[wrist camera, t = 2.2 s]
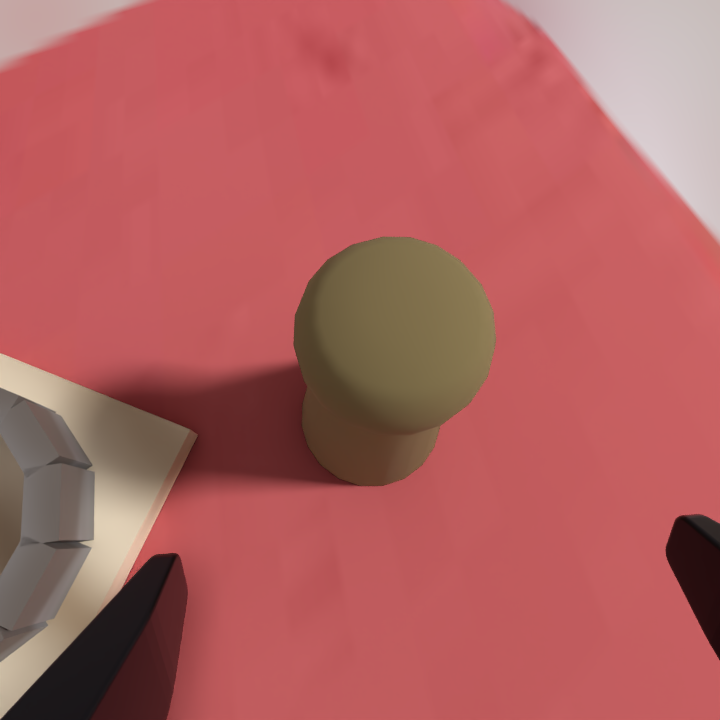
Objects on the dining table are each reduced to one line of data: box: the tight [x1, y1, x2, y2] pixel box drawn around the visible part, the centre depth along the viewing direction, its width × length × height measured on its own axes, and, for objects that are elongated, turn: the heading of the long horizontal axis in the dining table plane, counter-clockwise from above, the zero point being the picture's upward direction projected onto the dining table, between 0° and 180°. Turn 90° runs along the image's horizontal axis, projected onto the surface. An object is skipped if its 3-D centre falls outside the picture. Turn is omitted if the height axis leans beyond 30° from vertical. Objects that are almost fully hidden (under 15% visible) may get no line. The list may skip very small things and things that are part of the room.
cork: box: [294, 237, 496, 486], centre depth 17 cm, size 6×6×11 cm
